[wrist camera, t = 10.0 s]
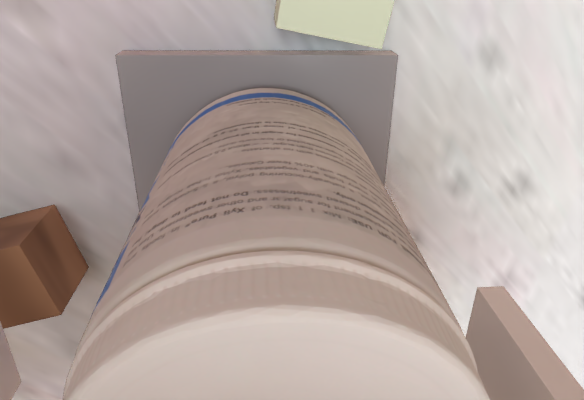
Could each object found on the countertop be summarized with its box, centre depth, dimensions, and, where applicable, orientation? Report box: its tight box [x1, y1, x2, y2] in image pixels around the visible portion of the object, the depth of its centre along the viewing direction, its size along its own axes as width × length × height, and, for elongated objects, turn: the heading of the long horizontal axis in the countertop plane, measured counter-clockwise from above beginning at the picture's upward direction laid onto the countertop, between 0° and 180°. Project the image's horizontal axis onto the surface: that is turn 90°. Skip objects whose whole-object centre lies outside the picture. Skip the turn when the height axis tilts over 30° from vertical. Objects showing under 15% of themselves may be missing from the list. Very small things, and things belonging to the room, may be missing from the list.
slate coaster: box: [115, 51, 398, 212], centre depth 23 cm, size 12×12×1 cm
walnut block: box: [0, 205, 88, 329], centre depth 23 cm, size 4×4×4 cm
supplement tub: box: [63, 88, 490, 400], centre depth 16 cm, size 10×10×15 cm
